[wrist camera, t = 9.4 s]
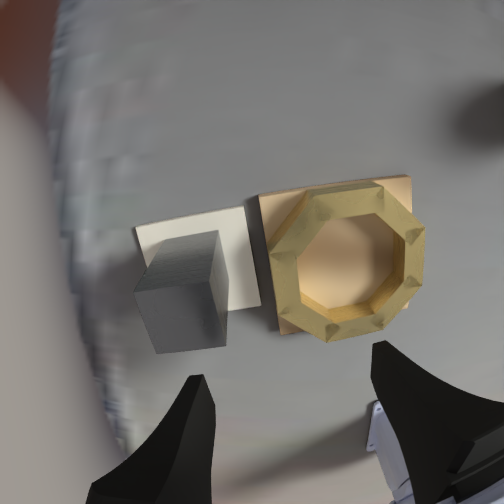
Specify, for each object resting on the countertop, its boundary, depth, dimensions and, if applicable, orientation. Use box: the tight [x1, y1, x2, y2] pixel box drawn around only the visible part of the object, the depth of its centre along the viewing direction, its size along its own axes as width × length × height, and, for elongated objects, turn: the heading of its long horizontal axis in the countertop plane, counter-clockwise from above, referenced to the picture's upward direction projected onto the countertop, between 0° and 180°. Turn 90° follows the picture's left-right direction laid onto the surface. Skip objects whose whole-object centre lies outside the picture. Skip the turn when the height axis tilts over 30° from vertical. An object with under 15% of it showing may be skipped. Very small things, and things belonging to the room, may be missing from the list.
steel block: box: [133, 230, 229, 354], centre depth 17 cm, size 4×4×7 cm
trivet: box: [135, 205, 261, 311], centre depth 21 cm, size 7×7×1 cm
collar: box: [266, 181, 425, 343], centre depth 20 cm, size 10×10×2 cm
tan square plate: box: [258, 175, 412, 335], centre depth 21 cm, size 10×10×1 cm
